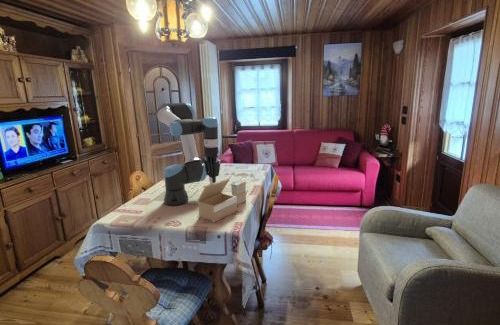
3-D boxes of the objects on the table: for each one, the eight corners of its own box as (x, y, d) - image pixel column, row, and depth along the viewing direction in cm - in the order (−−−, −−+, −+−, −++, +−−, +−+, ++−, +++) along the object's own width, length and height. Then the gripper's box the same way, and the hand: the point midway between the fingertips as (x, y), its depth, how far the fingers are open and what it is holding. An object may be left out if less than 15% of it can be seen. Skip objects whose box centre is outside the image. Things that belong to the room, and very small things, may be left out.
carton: (199, 217, 156) (198, 201, 154) (222, 206, 170) (221, 192, 168) (214, 222, 149) (213, 206, 147) (237, 211, 162) (236, 196, 160)
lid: (198, 201, 154) (197, 200, 154) (221, 192, 168) (220, 191, 168) (206, 187, 147) (205, 186, 148) (229, 179, 161) (228, 178, 161)
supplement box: (240, 199, 180) (239, 180, 177) (246, 201, 177) (245, 181, 174) (231, 203, 174) (230, 183, 171) (237, 205, 171) (236, 184, 168)
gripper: (198, 146, 153) (200, 187, 159) (214, 148, 145) (216, 192, 151) (208, 143, 158) (210, 183, 164) (224, 146, 151) (225, 188, 156)
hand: (212, 187), depth 158 cm, fingers closed
